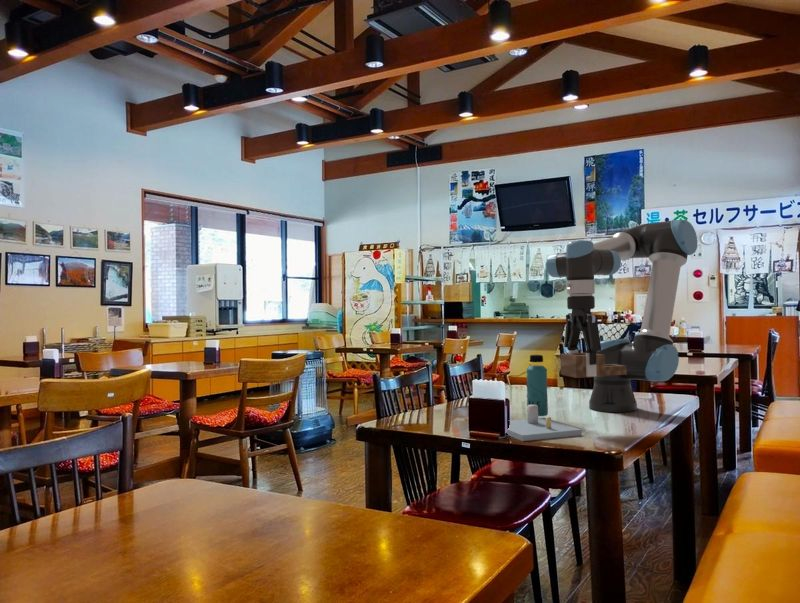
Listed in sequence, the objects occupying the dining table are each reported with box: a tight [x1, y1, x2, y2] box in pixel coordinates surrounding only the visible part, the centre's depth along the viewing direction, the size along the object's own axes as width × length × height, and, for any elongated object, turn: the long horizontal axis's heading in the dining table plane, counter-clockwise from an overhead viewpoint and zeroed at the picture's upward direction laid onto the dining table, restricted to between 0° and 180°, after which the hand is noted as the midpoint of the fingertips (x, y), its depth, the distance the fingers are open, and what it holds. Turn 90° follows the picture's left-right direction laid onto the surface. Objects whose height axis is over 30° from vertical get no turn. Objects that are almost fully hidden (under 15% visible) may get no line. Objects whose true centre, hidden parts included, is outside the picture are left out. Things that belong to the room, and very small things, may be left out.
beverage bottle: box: [526, 354, 549, 417], centre depth 190 cm, size 6×7×20 cm
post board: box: [507, 404, 582, 442], centre depth 172 cm, size 18×19×6 cm
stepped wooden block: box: [559, 352, 627, 379], centre depth 175 cm, size 16×9×6 cm, turn 103°
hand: (582, 374), depth 174 cm, fingers closed on stepped wooden block, 9 cm apart
